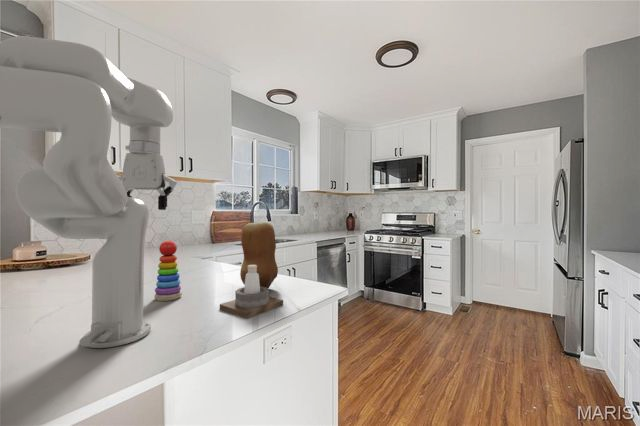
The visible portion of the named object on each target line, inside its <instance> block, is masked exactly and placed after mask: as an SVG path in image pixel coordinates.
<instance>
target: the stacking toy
mask: <svg viewBox="0 0 640 426" xmlns="http://www.w3.org/2000/svg"><path fill="white" fill-rule="evenodd" d="M158 248H159V249H158V250H159V253H160V254H161V256H160V257H159V264H158V270H157V274H158V275H157V277H156V279H157V281H156V283H155V285H156V288H155V290H154V292H155V295H153V296H154V300H156V301H158V302H167V301H169V302H170V301H174V300H177V299H179V298H180V297H181V296H182V295H183V292H182V291H181V289H182V287H181V285H180V284H181V279H180V274H179V267H177V266H178V262H177V260H178V258H177V255H175V253H176V252H177V249H178V248H177V244H176V243H175V242H174V241H172V240H165V241H163V242H161V244H160V245H159V247H158Z"/></svg>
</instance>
